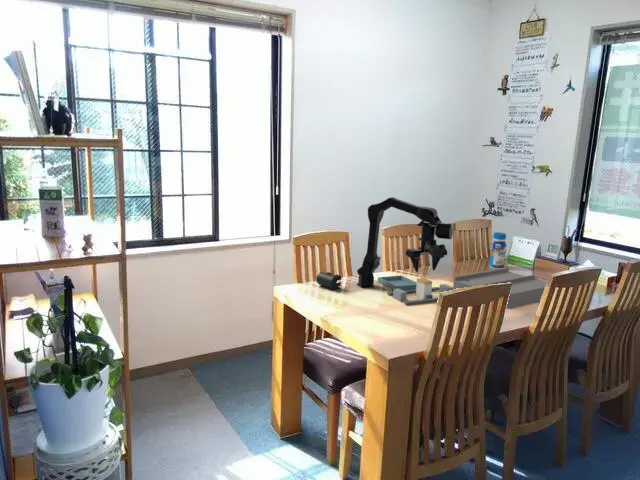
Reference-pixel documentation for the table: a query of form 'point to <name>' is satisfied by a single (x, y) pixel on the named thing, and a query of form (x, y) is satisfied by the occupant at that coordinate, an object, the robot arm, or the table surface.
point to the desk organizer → (522, 286)
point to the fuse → (423, 287)
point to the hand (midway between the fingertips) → (425, 271)
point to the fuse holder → (402, 294)
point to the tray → (397, 282)
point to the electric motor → (328, 280)
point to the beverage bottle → (498, 251)
